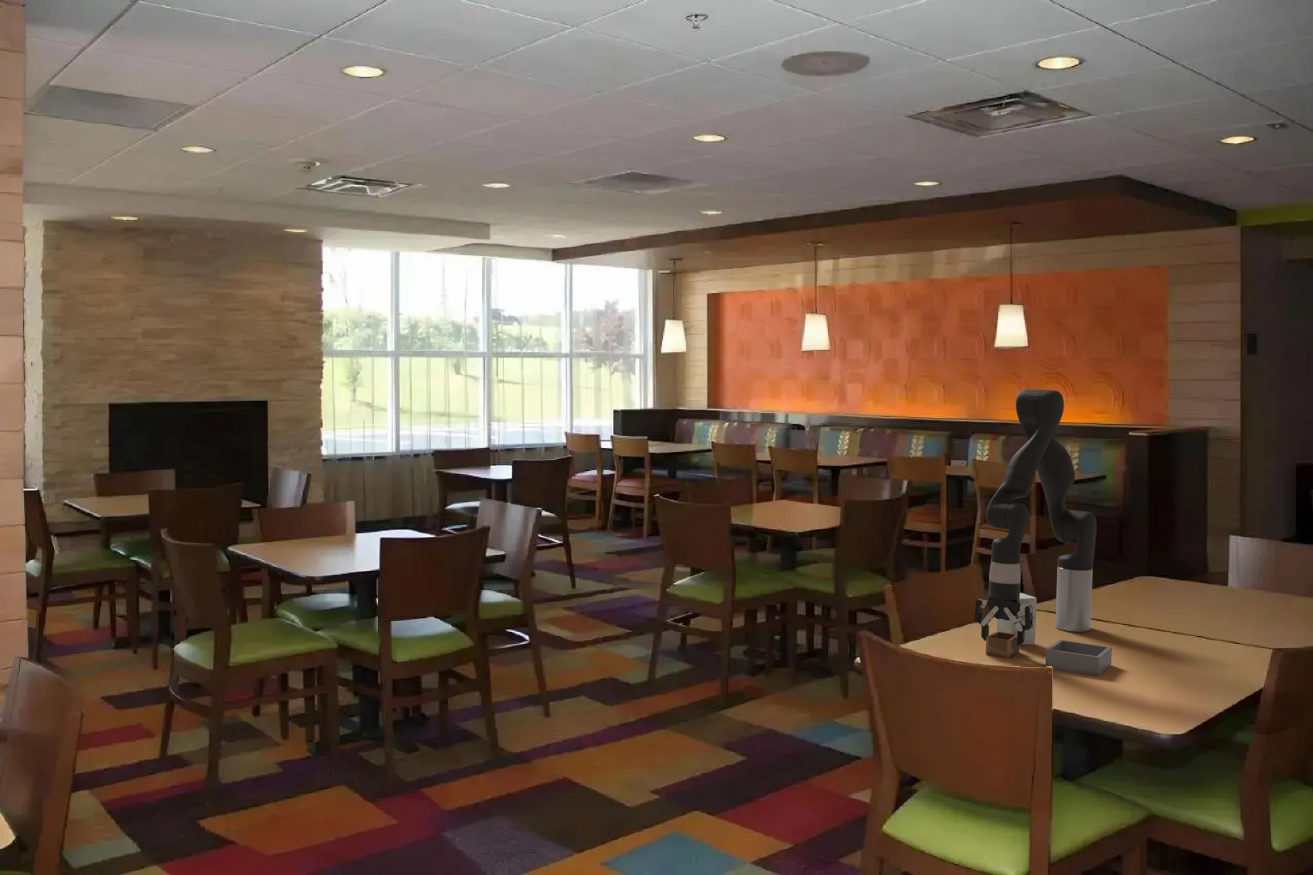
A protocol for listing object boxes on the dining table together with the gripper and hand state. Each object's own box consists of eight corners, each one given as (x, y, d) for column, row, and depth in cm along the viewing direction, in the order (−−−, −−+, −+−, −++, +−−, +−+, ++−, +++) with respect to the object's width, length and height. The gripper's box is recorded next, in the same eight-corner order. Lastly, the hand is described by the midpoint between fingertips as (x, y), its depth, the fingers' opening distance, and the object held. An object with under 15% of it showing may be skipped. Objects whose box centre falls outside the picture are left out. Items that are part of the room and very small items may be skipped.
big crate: (1059, 657, 281) (1060, 639, 281) (1111, 665, 274) (1111, 647, 274) (1045, 667, 271) (1046, 649, 271) (1098, 676, 264) (1099, 657, 263)
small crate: (995, 648, 289) (996, 631, 289) (1019, 652, 286) (1019, 634, 285) (985, 654, 283) (986, 637, 282) (1009, 658, 279) (1009, 640, 279)
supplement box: (1011, 646, 292) (1012, 598, 291) (995, 639, 299) (997, 593, 298) (1035, 644, 294) (1037, 597, 293) (1019, 638, 301) (1021, 592, 300)
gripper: (1037, 581, 282) (1034, 644, 283) (982, 574, 290) (979, 636, 291) (1028, 585, 276) (1026, 650, 277) (972, 578, 284) (969, 641, 285)
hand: (1002, 642), depth 284 cm, fingers open, 8 cm apart
